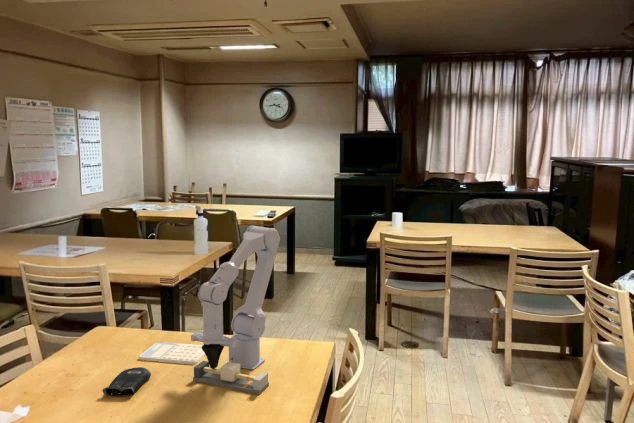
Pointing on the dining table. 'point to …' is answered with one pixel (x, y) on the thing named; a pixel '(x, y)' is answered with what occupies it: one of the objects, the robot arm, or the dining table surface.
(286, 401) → the dining table surface
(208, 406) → the dining table surface
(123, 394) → the electronic device
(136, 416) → the dining table surface
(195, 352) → the calculator
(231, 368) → the beige sliding bead
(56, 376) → the dining table surface
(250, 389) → the cord board
